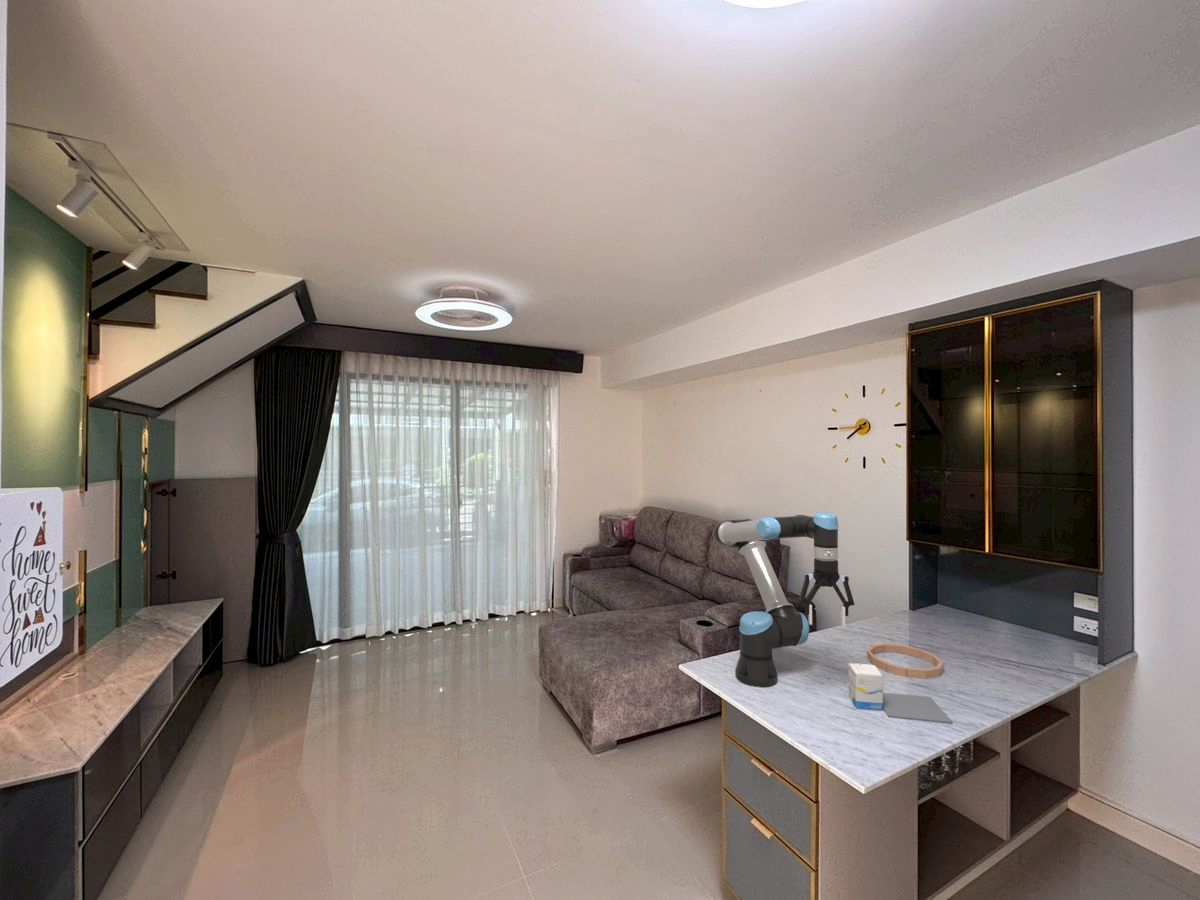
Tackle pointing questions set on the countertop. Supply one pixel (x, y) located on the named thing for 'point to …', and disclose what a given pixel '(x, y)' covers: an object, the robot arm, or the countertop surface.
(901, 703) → the mat
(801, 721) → the countertop surface
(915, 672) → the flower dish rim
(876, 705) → the ink box
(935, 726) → the countertop surface
